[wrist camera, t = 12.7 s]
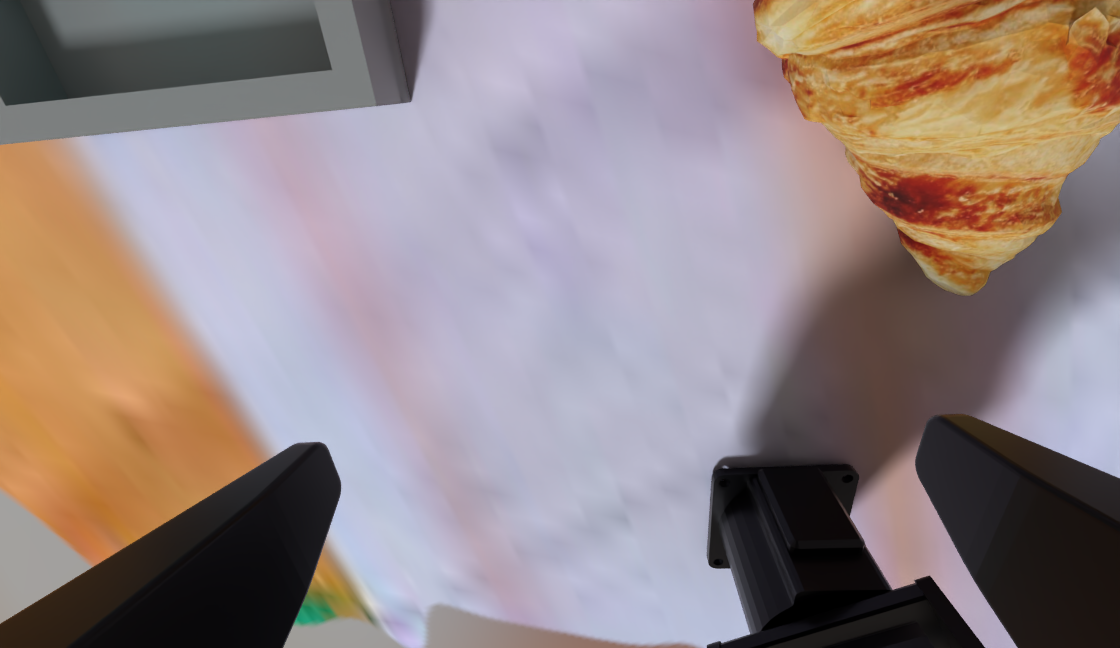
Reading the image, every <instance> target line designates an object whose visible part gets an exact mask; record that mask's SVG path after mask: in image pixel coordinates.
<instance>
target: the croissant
mask: <svg viewBox="0 0 1120 648" xmlns="http://www.w3.org/2000/svg"><path fill="white" fill-rule="evenodd" d="M753 8H754V17H755V25H756V29H757V41H758V42H759V43H760V44H762V45H763V46H765V47H766V48H767V49H769V50H770V51H771V52H772V53H773V54H774V55H775V56H777V57H779V58H781V59H782V70H783V74H784V78H785V79H786V80H787V81H788V82H789V83H790V84H791V88H792V92H793V95H794V97H795V100H796V103H797V105H798V107H799V109H800V111H801V113H802V115H803V117H804V119H806V120H808V121H812V122H821V123H822V124H823V125H824V126H825V127H826V128H827V129H828V130H829V131H830V132H831V133H832V134H833V135H834V136H835V138H837V139H838V140H840V141H841V142H842V143H843V144H844V145H845V146H846V151H845V154H846V157H847V160H848V162H849V164H850V165H851V166H852V167H853V168H854V169H855V171H856V172H857V173H858V174H859V176H860V182H861V188H862V189H863V190H864V192H865V193H866V194H867V196H868V197H869V198H870V200H871V201H872V202H873V203H874V204H875V205H876V206H878V207H879V208H880V209H881V210H883V211H884V212H885V213H886V215H887V216H888V217H889V218H891V219H893V220H894V222H895V224H896V226H897V230H898V234H899V237H900V241H901V244H902V245H903V246H904V247H905V248H906V249H907V250H908V251H909V252H910V253H911V255H912V256H913V257H914V259H915V260H916V261H917V263H918V264H919V266H920V267H921V269H922V271H923V272H924V274H925V276H926V277H927V278H928V279H930V280H931V281H932V282H933V283H935V284H936V285H937V286H939V287H941V288H942V289H944V290H946V291H949V292H952V293H955V294H958V295H961V296H972V295H973V294H975V293H977V292H978V291H979V290H980V289H981V288H983V287H984V286H985V284H986V282H987V280H988V278H989V274H990V272H991V271H992V270H996V269H997V268H998V267H1000V266H1001V265H1002V264H1003V263H1005V262H1007V261H1010V260H1012V259H1014V257H1015V255H1016V254H1017V253H1019V252H1021V251H1022V250H1024V249H1026V248H1027V247H1028V246H1029V245H1031V244H1032V243H1033V242H1034V241H1035V239H1036V238H1037V236H1038V235H1041V234H1044V233H1045V232H1046V231H1047V230H1048V229H1050V228H1051V227H1052V225H1053V224H1054V223H1055V221H1056V220H1057V218H1058V217H1059V216H1060V214H1061V213H1062V210H1061V206H1060V202H1059V199H1058V197H1059V193H1060V190H1061V187H1062V184H1063V182H1064V181H1065V179H1066V177H1067V176H1068V174H1069V173H1071V172H1073V171H1074V170H1075V169H1077V168H1078V167H1080V166H1081V165H1083V164H1084V163H1085V162H1086V161H1087V159H1088V158H1089V156H1090V155H1091V154H1092V152H1093V151H1094V150H1095V148H1096V147H1097V145H1098V144H1099V141H1100V138H1102V137H1103V136H1105V135H1107V134H1109V133H1111V132H1112V130H1113V129H1114V128H1115V127H1116V126H1117V124H1118V123H1120V0H755V1H754V3H753Z"/></svg>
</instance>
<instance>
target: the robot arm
mask: <svg viewBox="0 0 1120 648" xmlns="http://www.w3.org/2000/svg"><path fill="white" fill-rule="evenodd" d="M915 466H916V471H917V475H918V477H919V479H920V481H921V483H922V485H923V487H924V488H925V490H926V492H927V494H928V496H929V498H930V500H931V502H932V504H933V505H934V507H935V509H936V511H937V513H938V515H939V517H940V519H941V520H942V522H943V524H944V526H945V528H946V530H947V532H948V534H949V536H950V537H951V539H952V541H953V543H954V545H955V547H956V549H957V551H958V553H959V554H960V556H961V558H962V560H963V562H964V564H965V565H966V567H967V569H968V571H969V572H970V574H971V576H972V578H973V579H974V581H975V583H976V584H977V586H978V587H979V589H980V591H981V592H982V594H983V595H984V597H985V599H986V600H987V602H988V603H989V605H990V606H991V608H992V609H993V611H994V612H995V614H996V615H997V617H998V618H999V620H1000V622H1001V623H1002V625H1003V626H1004V628H1005V629H1006V631H1007V632H1008V634H1009V635H1010V637H1011V638H1012V640H1013V641H1014V643H1015V644H1016V646H1017V647H1018V648H1120V478H1117V477H1115V476H1112V475H1110V474H1108V473H1105V472H1103V471H1101V470H1098V469H1096V468H1093V467H1091V466H1089V465H1086V464H1084V463H1081V462H1079V461H1077V460H1074V459H1072V458H1070V457H1067V456H1065V455H1062V454H1060V453H1058V452H1055V451H1053V450H1051V449H1048V448H1046V447H1043V446H1041V445H1039V444H1036V443H1034V442H1032V441H1029V440H1027V439H1024V438H1022V437H1020V436H1017V435H1015V434H1012V433H1010V432H1008V431H1005V430H1003V429H1001V428H998V427H996V426H993V425H991V424H989V423H986V422H984V421H982V420H979V419H977V418H974V417H972V416H969V415H966V414H944V415H935V416H932V417H931V418H930V419H929V420H928V421H927V423H926V426H925V429H924V432H923V436H922V439H921V442H920V445H919V449H918V452H917V455H916V459H915ZM845 475H846V476H845ZM722 479H726V480H724V481H721V480H722ZM858 480H859V475H858V473H857V472H856V471H855V469H854V468H853V466H851V465H847V464H840V465H813V466H785V467H758V468H731V469H719V470H717V471H715V472H714V473H713V475H712V481H711V497H710V512H709V528H708V544H707V559H708V563H709V565H710V566H711V567H713V568H717V569H721V568H731V571H732V575H733V578H734V581H735V585H736V588H737V591H738V595H739V598H740V601H741V605H742V608H743V611H744V614H745V618H746V621H747V624H748V628H749V631H750V635H746V636H743V637H740V638H737V639H733V640H730V641H727V642H724V643H721V642H720V641H718V642H715V643H712V644H708V645H707V648H985V647H984V646H983V644H982V643H981V642H980V641H979V639H978V638H977V637H976V635H975V634H974V633H973V631H972V630H971V629H970V627H969V626H968V625H967V624H966V622H965V621H964V620H963V618H962V617H961V616H960V614H959V613H958V612H957V610H956V609H955V608H954V607H953V605H952V604H951V603H950V601H949V600H948V599H947V597H946V596H945V595H944V593H943V592H942V591H941V590H940V588H939V587H938V586H937V584H936V583H935V582H934V580H933V579H932V578H931V577H930V576H926V577H923V578H920V579H917V580H914V581H915V583H914V584H911V585H907V586H904V587H901V588H898V589H895V590H892V588H891V587H890V585H889V583H888V582H887V580H886V578H885V577H884V575H883V573H882V572H881V570H880V568H879V567H878V565H877V563H876V562H875V560H874V559H873V557H872V555H871V554H870V552H869V550H868V549H867V547H866V545H865V542H864V540H863V538H862V536H861V535H860V533H859V531H858V530H857V528H856V526H855V525H854V523H853V522H852V520H851V518H850V513H851V509H852V505H853V500H854V496H855V492H856V488H857V484H858ZM340 494H341V481H340V478H339V475H338V473H337V470H336V468H335V465H334V462H333V460H332V457H331V455H330V452H329V450H328V448H327V446H326V445H325V444H323V443H321V442H305V443H297V444H294V445H292V446H290V447H289V448H287V449H285V450H284V451H282V452H281V453H279V454H277V455H276V456H274V457H272V458H271V459H269V460H267V461H266V462H264V463H263V464H261V465H259V466H258V467H256V468H254V469H253V470H251V471H249V472H248V473H246V474H245V475H243V476H241V477H240V478H238V479H236V480H235V481H233V482H231V483H230V484H228V485H227V486H225V487H223V488H222V489H220V490H218V491H217V492H215V493H213V494H212V495H210V496H209V497H207V498H205V499H204V500H202V501H200V502H199V503H197V504H195V505H194V506H192V507H191V508H189V509H187V510H186V511H184V512H182V513H181V514H179V515H177V516H176V517H174V518H173V519H171V520H169V521H168V522H166V523H164V524H163V525H161V526H159V527H158V528H156V529H155V530H153V531H151V532H150V533H148V534H146V535H145V536H143V537H141V538H140V539H138V540H137V541H135V542H133V543H132V544H130V545H128V546H127V547H125V548H123V549H122V550H120V551H119V552H117V553H115V554H114V555H112V556H110V557H109V558H107V559H105V560H104V561H102V562H101V563H99V564H97V565H96V566H94V567H92V568H91V569H89V570H87V571H86V572H85V573H83V574H81V575H79V576H78V577H76V578H74V579H73V580H71V581H70V582H68V583H66V584H65V585H63V586H61V587H60V588H58V589H57V590H55V591H53V592H52V593H50V594H48V595H47V596H45V597H44V598H42V599H40V600H39V601H37V602H35V603H34V604H32V605H30V606H29V607H27V608H25V609H24V610H22V611H21V612H19V613H17V614H16V615H14V616H12V617H11V618H9V619H8V620H6V621H4V622H2V623H1V624H0V648H283V647H284V645H285V642H286V640H287V638H288V635H289V633H290V631H291V629H292V627H293V624H294V622H295V620H296V618H297V615H298V613H299V611H300V609H301V606H302V604H303V601H304V599H305V597H306V594H307V592H308V589H309V586H310V584H311V581H312V578H313V576H314V573H315V570H316V567H317V564H318V561H319V558H320V555H321V552H322V549H323V546H324V543H325V540H326V537H327V534H328V531H329V528H330V525H331V522H332V519H333V516H334V513H335V510H336V507H337V504H338V501H339V498H340Z"/></svg>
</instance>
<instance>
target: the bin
mask: <svg viewBox="0 0 1120 648" xmlns="http://www.w3.org/2000/svg"><path fill="white" fill-rule="evenodd" d="M407 102H411V100H410V96H409V91H408V86H407V81H406V77H405V72H404V67H403V62H402V58H401V53H400V48H399V43H398V38H397V34H396V29H395V24H394V19H393V15H392V10H391V5H390V0H0V145H2V144H12V143H21V142H31V141H41V140H50V139H60V138H70V137H80V136H89V135H99V134H109V133H119V132H128V131H138V130H148V129H157V128H167V127H177V126H187V125H196V124H206V123H216V122H225V121H235V120H245V119H255V118H264V117H274V116H284V115H294V114H303V113H313V112H323V111H332V110H342V109H352V108H362V107H371V106H381V105H389V104H398V103H407Z"/></svg>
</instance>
